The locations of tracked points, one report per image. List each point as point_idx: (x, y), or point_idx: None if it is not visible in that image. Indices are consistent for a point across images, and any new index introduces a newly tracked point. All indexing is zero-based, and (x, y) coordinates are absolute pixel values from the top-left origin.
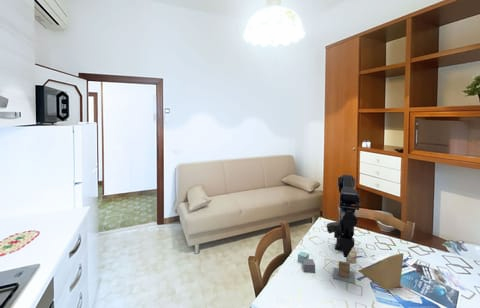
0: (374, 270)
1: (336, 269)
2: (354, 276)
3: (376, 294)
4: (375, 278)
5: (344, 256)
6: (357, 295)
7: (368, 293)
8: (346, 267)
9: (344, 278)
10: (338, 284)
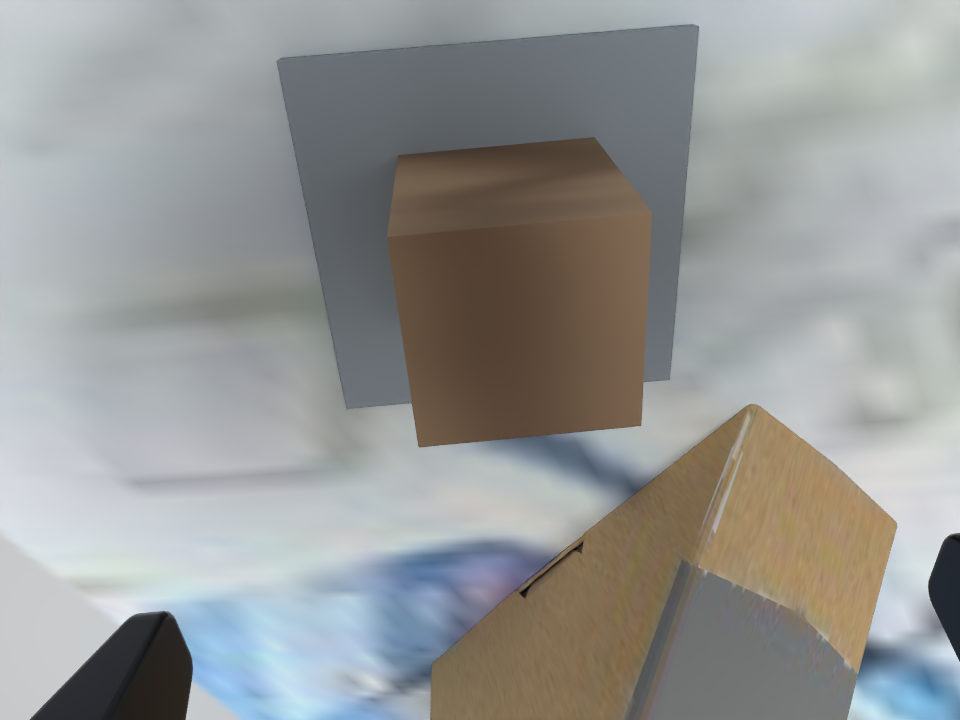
0: (571, 711)
1: (625, 90)
2: None
3: (278, 602)
4: (532, 631)
5: (115, 654)
6: (88, 449)
7: (236, 542)
8: (412, 388)
9: (383, 264)
10: (160, 187)
